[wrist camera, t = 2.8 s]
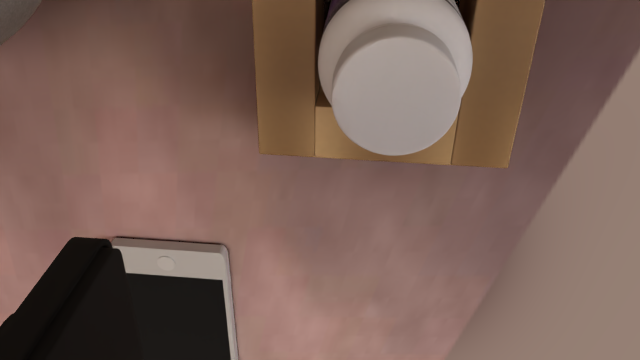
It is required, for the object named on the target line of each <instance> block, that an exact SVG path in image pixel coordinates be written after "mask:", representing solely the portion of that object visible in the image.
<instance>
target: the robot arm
mask: <svg viewBox="0 0 640 360" xmlns="http://www.w3.org/2000/svg"><path fill="white" fill-rule="evenodd" d="M0 360H144V353H143V348H142V344H141V339H140V334H139V330H138V325H137V321H136V316H135V312H134V307H133V303H132V298H131V293H130V289H129V284H128V280H127V275H126V271H125V266H124V262H123V257H122V253H121V251H120V250H119V249H117V248H113V247H112V244H111V242H110V241H109V240H107V239H97V238H82V237H74V238H71V239H70V240H69V241H68V242H67V244H66V245H65V246H64V248H63V249H62V250H61V252H60V253H59V254H58V256H57V257H56V258H55V260H54V261H53V262H52V264H51V265H50V266H49V268H48V269H47V270H46V272H45V273H44V274H43V276H42V277H41V278H40V280H39V281H38V282H37V284H36V285H35V286H34V288H33V289H32V290H31V292H30V293H29V294H28V296H27V297H26V298H25V300H24V301H23V302H22V304H21V305H20V306H19V308H18V309H17V310H16V312H15V313H14V314H12V315H10V316H9V317H8V318H7V319H6V320H5V321H4V322H3V324H2V325H1V326H0Z"/></svg>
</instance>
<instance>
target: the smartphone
mask: <svg viewBox="0 0 640 360" xmlns="http://www.w3.org/2000/svg"><path fill="white" fill-rule="evenodd" d="M111 244H112V247H113V248H117V249H119V250H120V251H121V253H122V257H123V262H124V266H125V271H126V275H127V280H128V284H129V289H130V293H131V298H132V303H133V307H134V312H135V316H136V321H137V325H138V330H139V334H140V339H141V344H142V348H143V353H144V360H238V352H237V341H236V331H235V320H234V310H233V299H232V289H231V278H230V268H229V257H228V251H227V249H226V247H225V246H223V245H214V244H200V243H185V242H171V241H157V240H142V239H128V238H114V239H113V241H112V242H111Z"/></svg>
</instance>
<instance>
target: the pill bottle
mask: <svg viewBox="0 0 640 360" xmlns="http://www.w3.org/2000/svg"><path fill="white" fill-rule="evenodd" d="M472 64H473V52H472V45H471V40H470V36H469V33H468V30H467V27H466V25H465V23H464V21H463V18H462V16H461V14H460V12H459V10H458V7H457V5H456V3H455V0H331V3H330V7H329V11H328V15H327V19H326V23H325V26H324V30H323V34H322V38H321V42H320V47H319V55H318V73H319V79H320V83H321V86H322V89H323V91H324V94H325V96H326V98H327V99H328V101H329V103H330V104H331V105H332V109H333V113H334V116H335V119H336V121H337V123H338V125H339V127H340V128H341V130H342V131H343V132H344V134H345V135H346V136H347V137H348V138H349V139H350V140H351V141H353V142H354V143H355V144H357V145H359V146H360V147H362V148H364V149H366V150H368V151H371V152H373V153H377V154H382V155H389V156H397V155H406V154H411V153H415V152H418V151H421V150H423V149H425V148H427V147H429V146H431V145H432V144H434V143H435V142H437V141H438V140H439V139H440V138H441V137H443V135H444V134H445V133H446V132H447V131H448V130H449V128H450V127H451V126H452V124H453V122H454V121H455V119H456V117H457V114H458V111H459V108H460V104H461V98H462V96H463V94H464V92H465V90H466V88H467V86H468V83H469V80H470V77H471V72H472Z"/></svg>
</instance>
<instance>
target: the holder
mask: <svg viewBox="0 0 640 360" xmlns="http://www.w3.org/2000/svg"><path fill="white" fill-rule="evenodd" d="M545 1H546V0H460V6H459V12H460V14H461V16H462V18H463V21H464V23H465V25H466V27H467V30H468V33H469V36H470V40H471V45H472V52H473V64H472V72H471V77H470V80H469V83H468V86H467V88H466V90H465V92H464V94H463V96H462V98H461V104H460V108H459V111H458V114H457V117H456V119H455V121H454V122H453V124H452V126H451V127H450V128H449V130H448V131H447V132H446V133H445V134H444V135H443V137H441V138H440V139H439V140H438V141H437V142H435V143H434V144H432V145H431V146H429V147H427V148H425V149H423V150H421V151H418V152H415V153H411V154H406V155H397V156H389V155H382V154H377V153H373V152H371V151H368V150H366V149H364V148H362V147H360V146H359V145H357V144H355V143H354V142H353V141H351V140H350V139H349V138H348V137H347V136H346V135H345V134H344V132H343V131H342V130H341V128H340V127H339V125H338V123H337V121H336V119H335V116H334V113H333V109H332V105H331V104H330V103H329V101H328V99H327V98H326V96H325V94H324V91H323V89H322V86H321V83H320V79H319V73H318V55H319V47H320V42H321V38H322V34H323V30H324V0H252V16H253V36H254V57H255V78H256V98H257V119H258V140H259V153H260V154H271V155H288V156H305V157H314V156H315V157H321V158H338V159H355V160H372V161H389V162H406V163H423V164H440V165H450V164H451V165H460V166H477V167H494V168H508V165H509V161H510V156H511V152H512V147H513V143H514V138H515V134H516V130H517V125H518V121H519V116H520V112H521V107H522V103H523V98H524V94H525V90H526V85H527V81H528V76H529V72H530V67H531V63H532V59H533V54H534V50H535V45H536V41H537V36H538V32H539V27H540V23H541V19H542V14H543V10H544V5H545Z"/></svg>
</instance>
